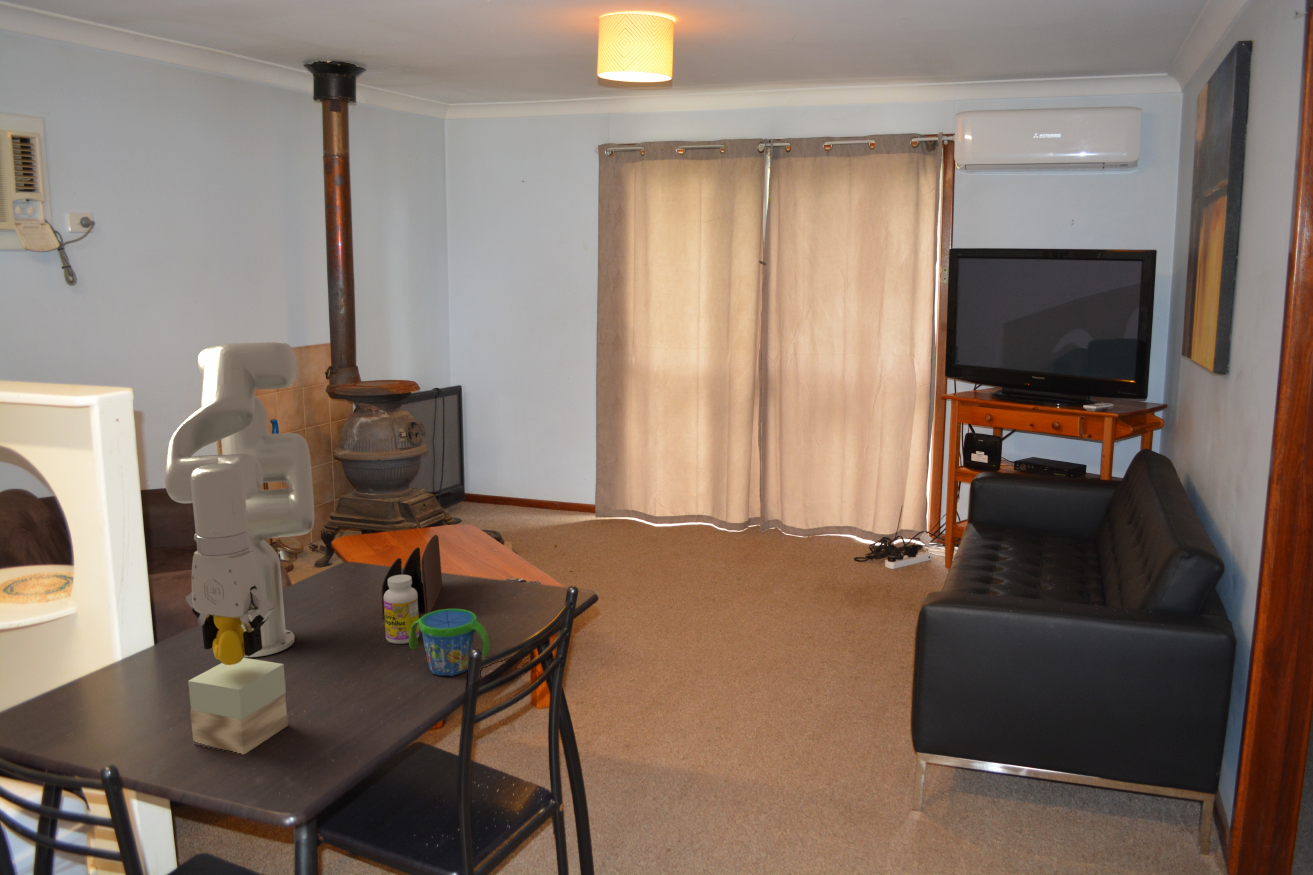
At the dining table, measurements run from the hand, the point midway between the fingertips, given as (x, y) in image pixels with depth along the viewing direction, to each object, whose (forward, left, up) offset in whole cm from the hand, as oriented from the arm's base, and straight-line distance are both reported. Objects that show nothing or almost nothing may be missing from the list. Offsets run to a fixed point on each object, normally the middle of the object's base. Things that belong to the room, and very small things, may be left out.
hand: (233, 648), depth 155 cm
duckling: (0, 0, -2) cm, 2 cm away
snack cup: (+19, +33, -15) cm, 41 cm away
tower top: (0, 0, -9) cm, 9 cm away
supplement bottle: (+2, +43, -15) cm, 46 cm away
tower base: (0, 0, -15) cm, 15 cm away
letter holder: (-8, +62, -15) cm, 64 cm away
